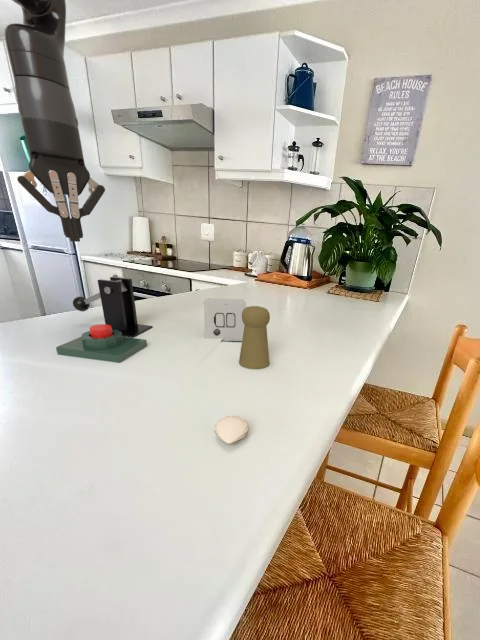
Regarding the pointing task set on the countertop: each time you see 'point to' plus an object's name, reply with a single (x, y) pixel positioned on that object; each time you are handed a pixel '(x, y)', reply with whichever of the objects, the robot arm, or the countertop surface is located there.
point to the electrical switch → (224, 319)
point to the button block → (102, 347)
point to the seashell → (231, 429)
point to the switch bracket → (120, 307)
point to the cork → (255, 338)
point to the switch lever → (90, 299)
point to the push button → (101, 331)
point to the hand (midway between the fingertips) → (74, 240)
